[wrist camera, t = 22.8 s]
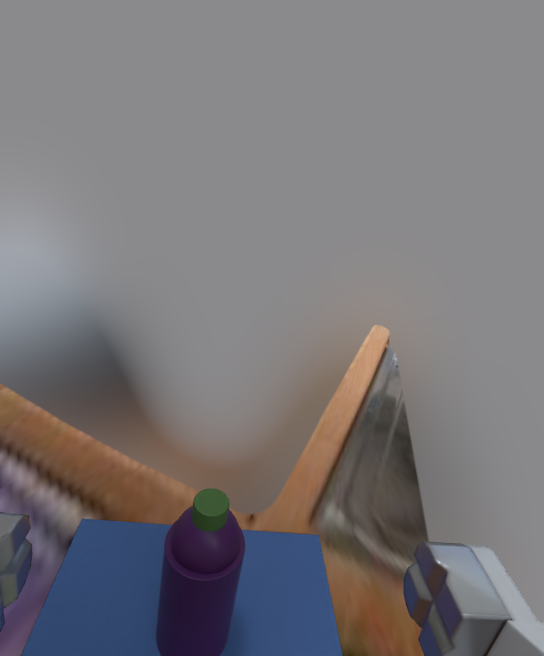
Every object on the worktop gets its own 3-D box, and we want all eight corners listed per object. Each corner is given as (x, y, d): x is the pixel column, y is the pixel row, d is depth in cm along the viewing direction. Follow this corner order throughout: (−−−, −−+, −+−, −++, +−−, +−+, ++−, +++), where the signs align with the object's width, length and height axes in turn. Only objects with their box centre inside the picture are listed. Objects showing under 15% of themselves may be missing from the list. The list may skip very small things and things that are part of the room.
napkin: (318, 537, 40) (318, 535, 39) (371, 811, 23) (372, 808, 23) (82, 521, 37) (82, 518, 37) (-50, 817, 20) (-51, 814, 20)
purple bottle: (229, 596, 33) (252, 474, 28) (226, 672, 28) (254, 540, 23) (163, 593, 32) (175, 468, 27) (148, 670, 27) (160, 534, 22)
